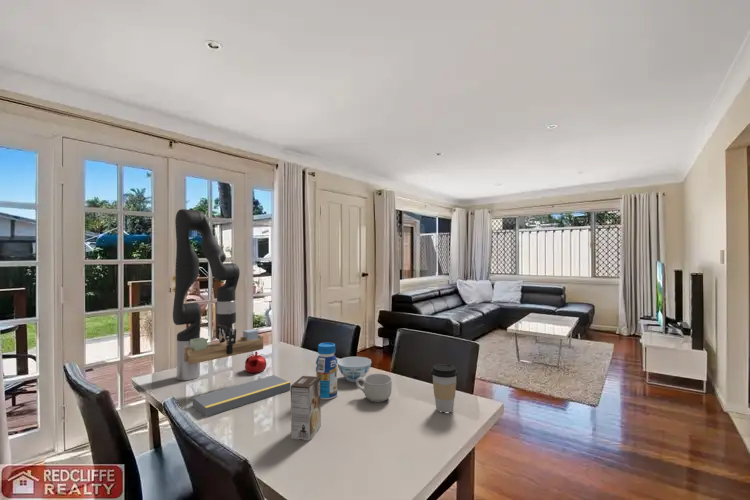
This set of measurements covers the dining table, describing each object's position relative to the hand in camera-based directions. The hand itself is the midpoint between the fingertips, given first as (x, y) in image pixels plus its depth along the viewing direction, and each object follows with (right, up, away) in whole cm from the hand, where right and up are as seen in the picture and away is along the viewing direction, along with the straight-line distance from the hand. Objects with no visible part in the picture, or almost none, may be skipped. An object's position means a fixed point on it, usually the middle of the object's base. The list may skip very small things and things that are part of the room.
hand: (226, 352), depth 147 cm
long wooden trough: (0, -1, 0) cm, 1 cm away
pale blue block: (+7, +4, +8) cm, 11 cm away
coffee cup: (+86, -14, -21) cm, 90 cm away
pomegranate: (+5, -15, +22) cm, 27 cm away
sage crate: (-7, +4, -8) cm, 11 cm away
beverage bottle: (+43, -15, -8) cm, 46 cm away
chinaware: (+52, -15, +10) cm, 55 cm away
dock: (+11, -15, -9) cm, 21 cm away
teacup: (+61, -15, -11) cm, 64 cm away
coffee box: (+40, -15, -37) cm, 56 cm away
